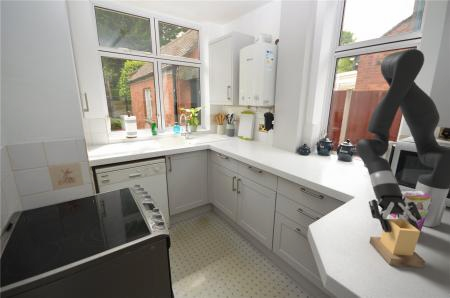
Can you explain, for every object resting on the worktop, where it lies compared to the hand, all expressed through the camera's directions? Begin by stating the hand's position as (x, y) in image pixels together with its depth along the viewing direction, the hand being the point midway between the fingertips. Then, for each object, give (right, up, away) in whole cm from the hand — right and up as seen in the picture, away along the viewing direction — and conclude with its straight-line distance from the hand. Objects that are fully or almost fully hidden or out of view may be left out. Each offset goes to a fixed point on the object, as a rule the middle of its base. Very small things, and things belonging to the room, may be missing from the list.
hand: (402, 233), depth 64 cm
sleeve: (0, -6, +2) cm, 6 cm away
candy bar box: (+14, -6, +15) cm, 21 cm away
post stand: (0, -8, +3) cm, 9 cm away
